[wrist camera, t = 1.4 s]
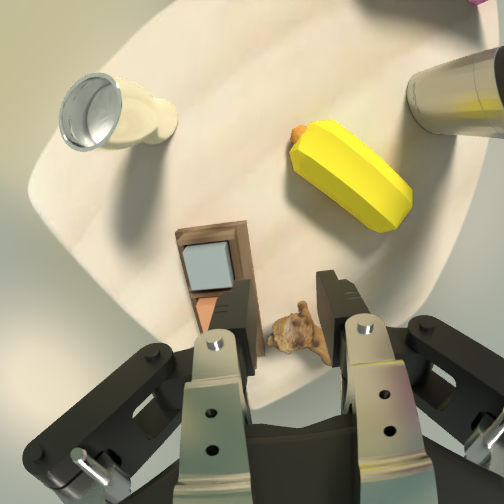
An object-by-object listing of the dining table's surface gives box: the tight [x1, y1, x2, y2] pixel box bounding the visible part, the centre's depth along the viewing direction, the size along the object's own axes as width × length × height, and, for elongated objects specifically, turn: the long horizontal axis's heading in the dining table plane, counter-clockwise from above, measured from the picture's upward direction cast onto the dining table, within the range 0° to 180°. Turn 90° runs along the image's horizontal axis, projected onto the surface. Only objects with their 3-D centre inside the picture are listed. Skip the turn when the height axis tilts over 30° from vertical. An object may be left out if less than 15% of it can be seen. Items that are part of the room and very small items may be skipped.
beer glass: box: [59, 73, 178, 152], centre depth 23 cm, size 7×7×15 cm
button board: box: [175, 220, 265, 369], centre depth 37 cm, size 9×21×4 cm, turn 8°
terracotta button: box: [196, 296, 219, 333], centre depth 34 cm, size 5×5×3 cm
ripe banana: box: [289, 120, 413, 233], centre depth 29 cm, size 18×7×8 cm
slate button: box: [182, 240, 234, 290], centre depth 32 cm, size 5×5×3 cm
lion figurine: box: [267, 301, 332, 366], centre depth 36 cm, size 15×5×9 cm, turn 58°
